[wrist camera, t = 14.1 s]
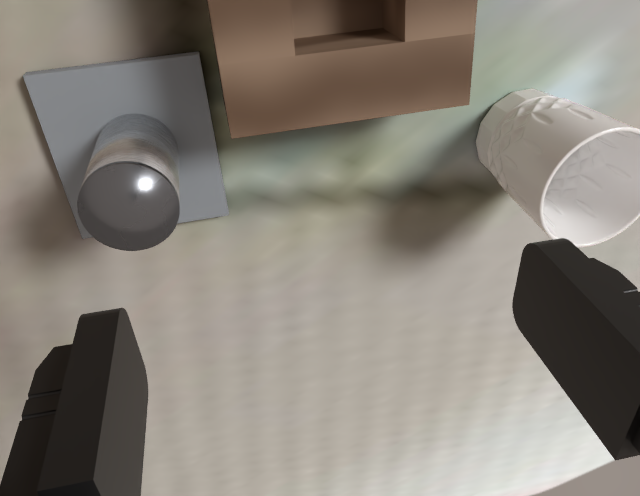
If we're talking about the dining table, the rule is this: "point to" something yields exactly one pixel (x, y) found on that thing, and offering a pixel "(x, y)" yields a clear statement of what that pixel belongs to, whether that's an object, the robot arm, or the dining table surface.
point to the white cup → (563, 165)
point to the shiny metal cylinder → (131, 184)
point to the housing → (339, 60)
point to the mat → (132, 98)
